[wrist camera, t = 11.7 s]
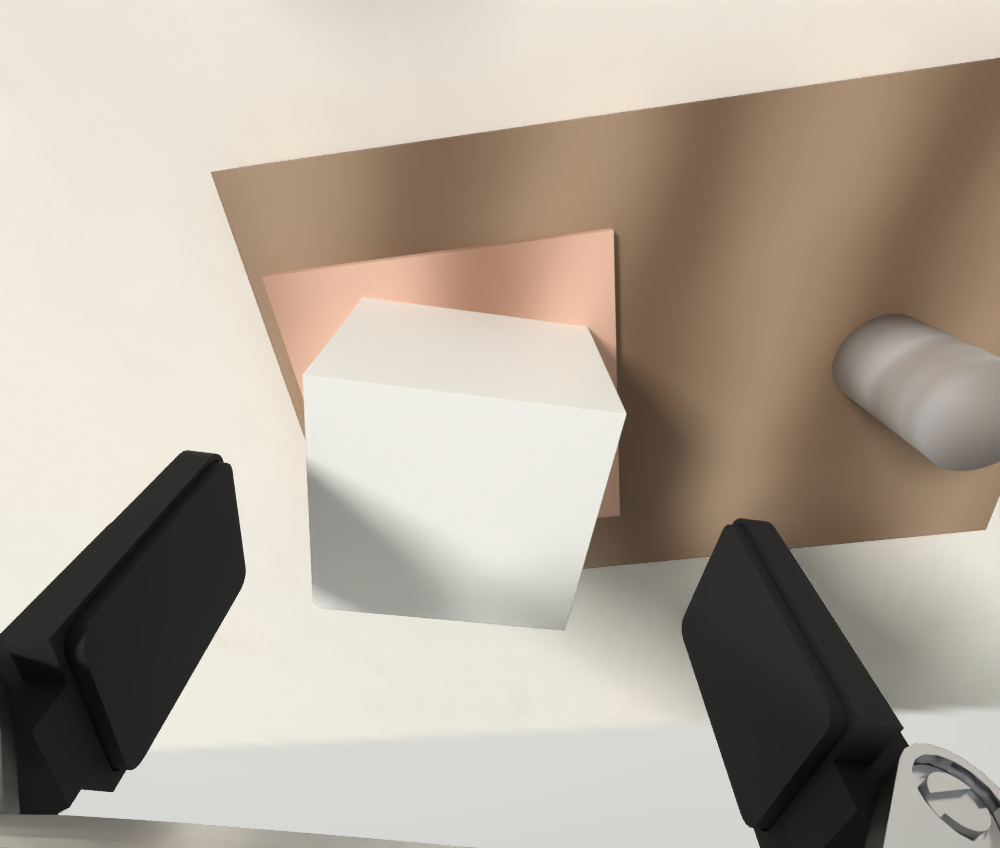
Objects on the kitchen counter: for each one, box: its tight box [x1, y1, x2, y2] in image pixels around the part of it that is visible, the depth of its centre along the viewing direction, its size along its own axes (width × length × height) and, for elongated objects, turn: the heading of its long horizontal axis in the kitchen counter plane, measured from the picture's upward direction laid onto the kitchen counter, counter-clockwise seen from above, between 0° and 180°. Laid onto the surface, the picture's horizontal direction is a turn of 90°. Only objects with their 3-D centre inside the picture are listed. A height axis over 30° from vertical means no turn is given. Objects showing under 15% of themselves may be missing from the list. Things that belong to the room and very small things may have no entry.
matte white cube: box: [303, 297, 626, 631], centre depth 14 cm, size 6×6×5 cm
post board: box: [211, 58, 1000, 569], centre depth 15 cm, size 22×14×5 cm, turn 97°
